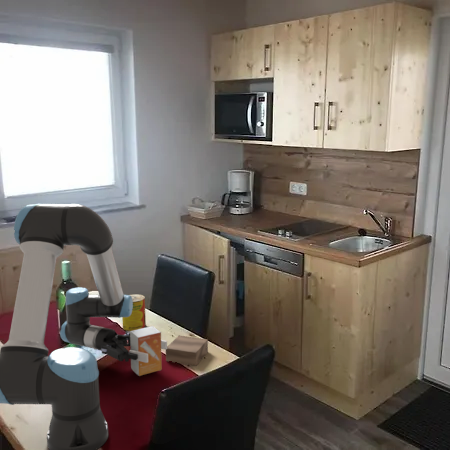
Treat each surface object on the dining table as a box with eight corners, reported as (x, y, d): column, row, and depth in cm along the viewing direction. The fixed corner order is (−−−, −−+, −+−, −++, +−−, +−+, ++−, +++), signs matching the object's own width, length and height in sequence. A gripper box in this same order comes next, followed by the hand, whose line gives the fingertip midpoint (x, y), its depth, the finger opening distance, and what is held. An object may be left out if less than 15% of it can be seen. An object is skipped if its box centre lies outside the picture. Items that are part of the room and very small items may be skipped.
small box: (139, 376, 161) (137, 337, 159) (130, 368, 166) (129, 330, 164) (162, 370, 166) (161, 331, 163) (153, 362, 171) (152, 325, 168)
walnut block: (196, 366, 172) (195, 352, 171) (166, 361, 176) (165, 348, 175) (207, 352, 182) (207, 339, 181) (179, 348, 186) (178, 335, 185)
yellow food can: (140, 332, 199) (139, 302, 197) (118, 330, 201) (117, 300, 199) (149, 323, 208) (148, 295, 205) (128, 321, 210) (127, 293, 207)
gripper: (122, 337, 183) (176, 349, 173) (78, 362, 163) (136, 378, 154) (121, 317, 182) (176, 328, 172) (77, 340, 162) (135, 354, 152)
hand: (157, 351), depth 163 cm, fingers closed on small box, 10 cm apart
